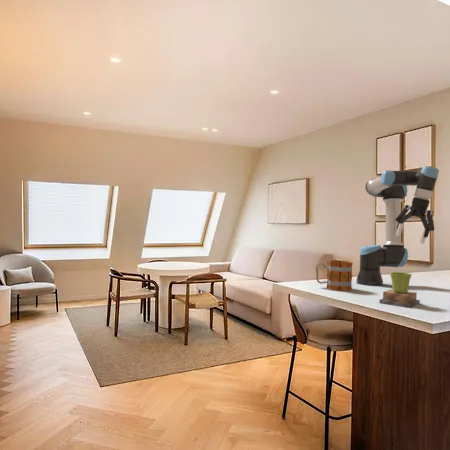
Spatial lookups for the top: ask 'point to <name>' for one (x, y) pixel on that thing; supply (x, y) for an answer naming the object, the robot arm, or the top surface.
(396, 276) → the plant pot
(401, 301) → the plinth
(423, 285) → the top surface
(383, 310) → the top surface
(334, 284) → the mug
